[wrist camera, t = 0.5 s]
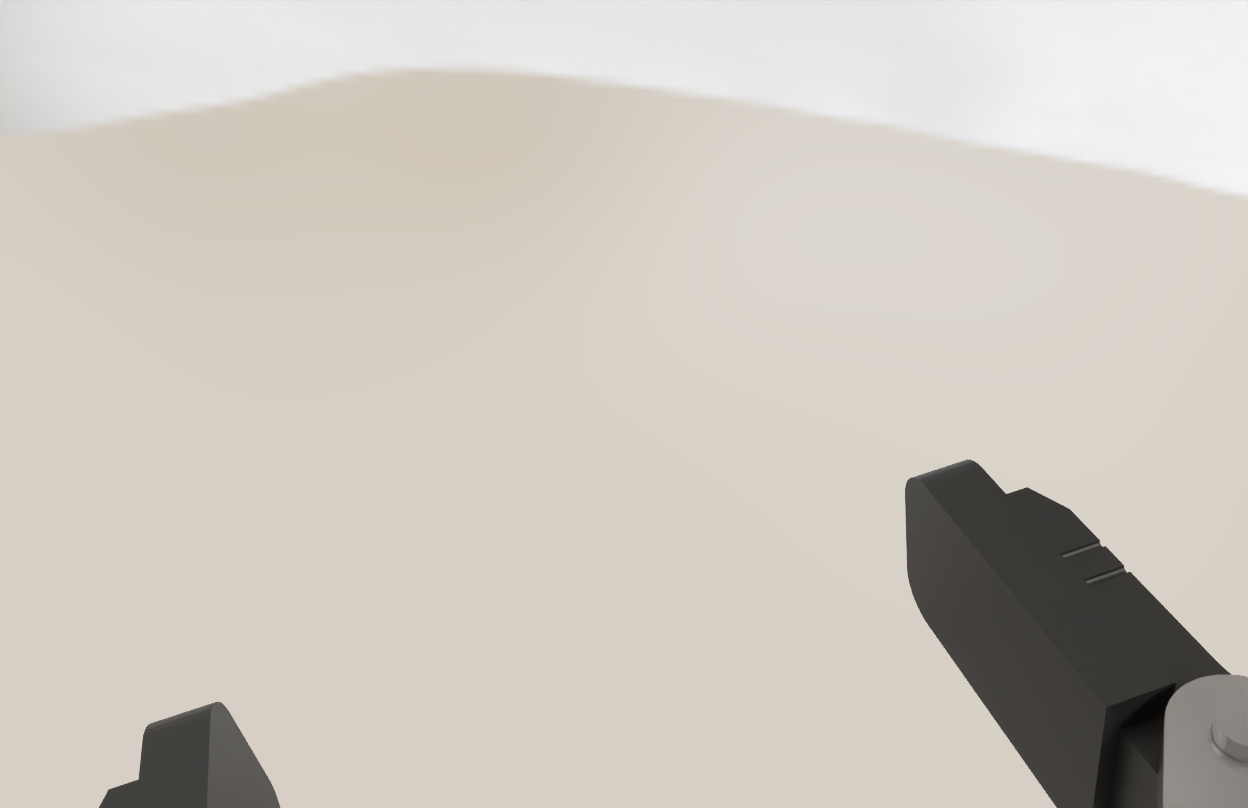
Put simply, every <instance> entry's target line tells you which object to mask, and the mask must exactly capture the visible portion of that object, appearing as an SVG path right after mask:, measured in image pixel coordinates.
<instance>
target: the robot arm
mask: <svg viewBox="0 0 1248 808" xmlns="http://www.w3.org/2000/svg"><path fill="white" fill-rule="evenodd" d="M905 502H906V503H905V504H906V541H907V571H908V578H909V583H910V587H911V589H912V593H913V596H914V599H915V601H916V603H917V606H918V608H919V610H920V612H921V614H922V615H923V617H924V619H925V621H926V622H927V623H928V625H929V627H930V628H931V629H932V631H933V632H934V634H935V635H936V637H937V638H938V639H939V641H940V642H941V644H942V645H943V646H944V648H945V649H946V651H947V652H948V654H949V655H950V656H951V658H952V659H953V661H954V662H955V664H956V665H957V666H958V668H959V669H960V670H961V672H962V673H963V675H964V676H965V678H966V679H967V681H968V682H969V683H970V685H971V686H972V688H973V689H974V690H975V692H976V693H977V695H978V696H979V698H980V699H981V700H982V702H983V703H984V705H985V706H986V708H987V709H988V710H989V711H990V713H991V715H992V716H993V718H994V719H995V720H996V722H997V723H998V724H999V726H1000V727H1001V729H1002V730H1003V732H1004V733H1005V734H1006V736H1007V737H1008V739H1009V740H1010V742H1011V743H1012V744H1013V746H1014V747H1015V749H1016V750H1017V752H1018V753H1019V754H1020V756H1021V757H1022V759H1023V760H1024V761H1025V763H1026V764H1027V766H1028V767H1029V769H1030V770H1031V772H1032V773H1033V774H1034V776H1035V777H1036V779H1037V780H1038V781H1039V783H1040V784H1041V786H1042V787H1043V789H1044V790H1045V791H1046V793H1047V794H1048V796H1049V797H1050V798H1051V800H1052V801H1053V803H1054V804H1055V806H1056V807H1057V808H1248V677H1246V676H1240V675H1231V674H1230V673H1229V672H1227V671H1226V670H1225V669H1224V668H1223V667H1222V666H1221V665H1220V664H1219V663H1218V662H1217V661H1216V660H1215V659H1214V658H1213V657H1212V656H1211V655H1210V654H1209V653H1208V652H1207V651H1206V650H1205V649H1204V648H1203V647H1202V646H1201V645H1200V644H1199V643H1198V642H1197V640H1195V638H1194V637H1193V636H1191V634H1190V633H1189V632H1188V631H1187V630H1186V629H1185V628H1184V627H1183V626H1182V625H1181V624H1180V623H1179V622H1178V621H1177V620H1176V619H1175V618H1174V617H1173V616H1172V615H1171V614H1170V613H1169V612H1168V610H1167V609H1165V608H1164V606H1163V605H1162V604H1161V603H1160V602H1159V601H1158V600H1157V599H1156V598H1155V597H1154V596H1153V595H1152V594H1151V593H1150V592H1149V591H1148V590H1147V589H1146V588H1145V587H1144V586H1143V585H1142V584H1141V583H1140V582H1139V581H1138V580H1137V578H1136V577H1135V576H1134V575H1133V574H1132V573H1131V572H1128V573H1127V572H1126V571H1125V569H1124V565H1123V564H1122V563H1121V562H1120V561H1119V560H1118V559H1117V558H1116V557H1115V556H1114V555H1113V554H1112V553H1111V552H1110V551H1109V549H1108V548H1106V546H1105V547H1102V546H1101V544H1100V540H1099V539H1098V538H1097V537H1096V536H1095V535H1094V534H1093V533H1092V532H1091V531H1090V530H1089V529H1088V528H1087V527H1086V526H1085V525H1084V524H1083V523H1082V522H1081V521H1080V519H1078V517H1077V516H1076V515H1075V514H1074V513H1073V512H1072V511H1071V510H1070V509H1068V508H1066V507H1064V506H1062V505H1060V504H1059V503H1057V502H1055V501H1053V500H1051V499H1049V498H1047V497H1045V496H1043V495H1041V494H1039V493H1037V492H1035V491H1033V490H1031V489H1029V488H1024V489H1021V490H1018V491H1015V492H1012V493H1009V494H1005V493H1004V492H1003V490H1002V489H1001V488H1000V487H999V486H998V485H997V484H996V483H995V481H994V480H993V479H992V478H991V477H990V476H989V475H988V474H987V473H986V472H985V470H984V469H983V468H982V467H981V466H980V465H979V464H977V463H976V462H974V461H972V460H965V461H962V462H959V463H956V464H953V465H950V466H946V467H943V468H940V469H938V470H934V471H931V472H928V473H925V474H922V475H919V476H916V477H913V478H910V479H909V480H908V481H907V483H906V488H905ZM99 808H280V805H279V802H278V799H277V796H276V793H275V791H274V789H273V786H272V784H271V782H270V780H269V779H268V777H267V775H266V774H265V772H264V770H263V768H262V767H261V765H260V763H259V762H258V760H257V758H256V757H255V755H254V753H253V751H252V750H251V748H250V747H249V745H248V743H247V742H246V740H245V738H244V736H243V735H242V733H241V731H240V729H239V728H238V726H237V724H236V723H235V721H234V719H233V718H232V716H231V714H230V713H229V711H228V710H227V708H226V707H225V706H224V705H223V704H222V703H221V702H215V703H212V704H209V705H206V706H203V707H200V708H197V709H194V710H191V711H188V712H185V713H182V714H178V715H176V716H173V717H170V718H166V719H163V720H160V721H157V722H154V723H151V724H149V725H148V726H147V727H146V729H145V732H144V735H143V743H142V752H141V763H140V772H139V780H137V781H133V782H130V783H127V784H124V785H121V786H119V787H115V788H112V789H109V790H108V792H107V794H106V796H105V798H104V799H103V801H102V803H101V805H100V807H99Z"/></svg>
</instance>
